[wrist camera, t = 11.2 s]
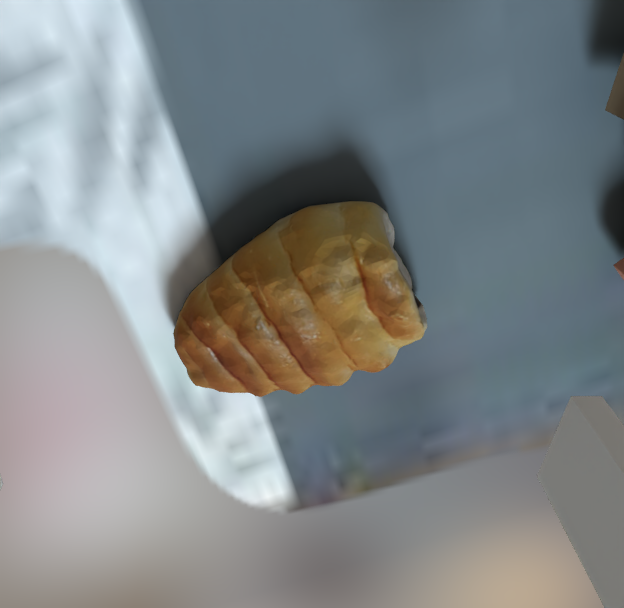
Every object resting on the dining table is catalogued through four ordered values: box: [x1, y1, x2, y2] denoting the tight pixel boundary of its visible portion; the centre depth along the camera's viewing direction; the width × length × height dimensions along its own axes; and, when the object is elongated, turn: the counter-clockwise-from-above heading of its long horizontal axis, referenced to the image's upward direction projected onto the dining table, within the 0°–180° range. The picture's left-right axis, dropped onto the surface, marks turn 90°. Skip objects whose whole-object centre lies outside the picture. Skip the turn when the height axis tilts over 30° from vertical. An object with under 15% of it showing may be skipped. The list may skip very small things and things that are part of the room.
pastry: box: [173, 201, 427, 397], centre depth 21 cm, size 9×7×4 cm
